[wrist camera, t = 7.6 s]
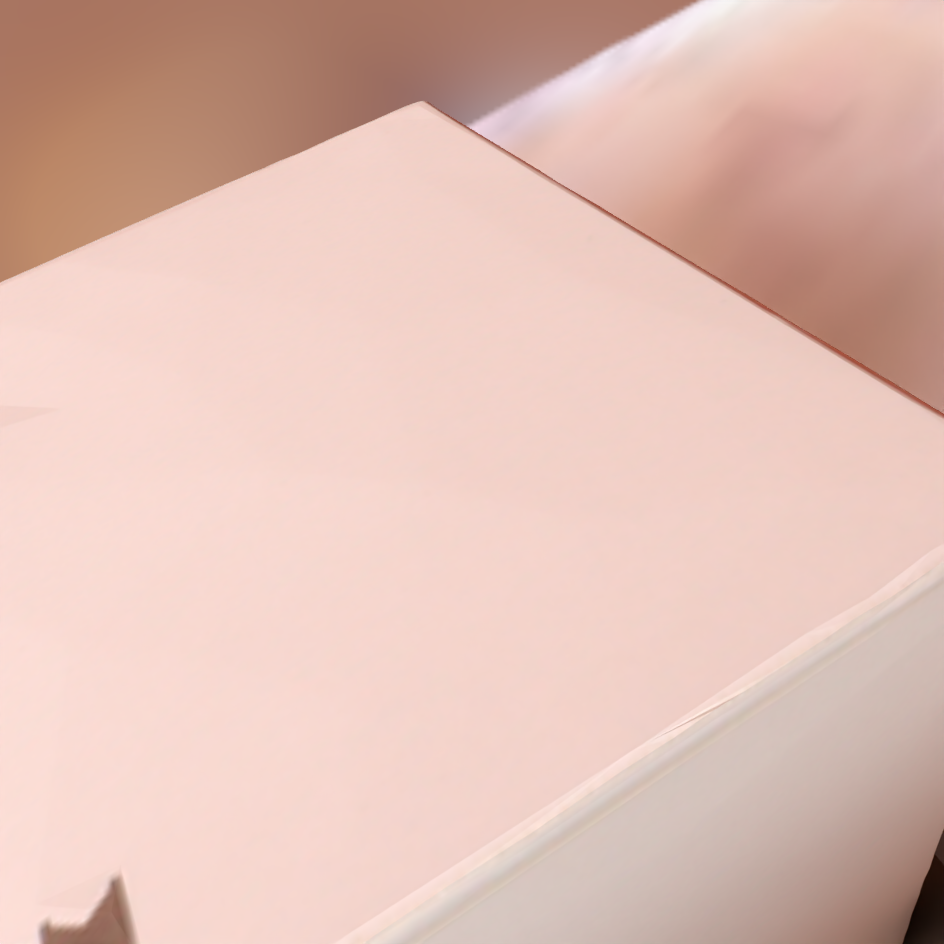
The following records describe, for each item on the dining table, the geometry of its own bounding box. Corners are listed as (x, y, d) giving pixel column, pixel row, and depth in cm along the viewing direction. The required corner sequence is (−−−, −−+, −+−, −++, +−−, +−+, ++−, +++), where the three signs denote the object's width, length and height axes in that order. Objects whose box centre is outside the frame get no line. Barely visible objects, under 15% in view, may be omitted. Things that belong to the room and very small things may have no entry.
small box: (868, 1061, 13) (1129, 486, 4) (516, 1342, 12) (-146, 1351, 3) (575, 680, 19) (422, 79, 10) (312, 846, 18) (-139, 329, 9)
